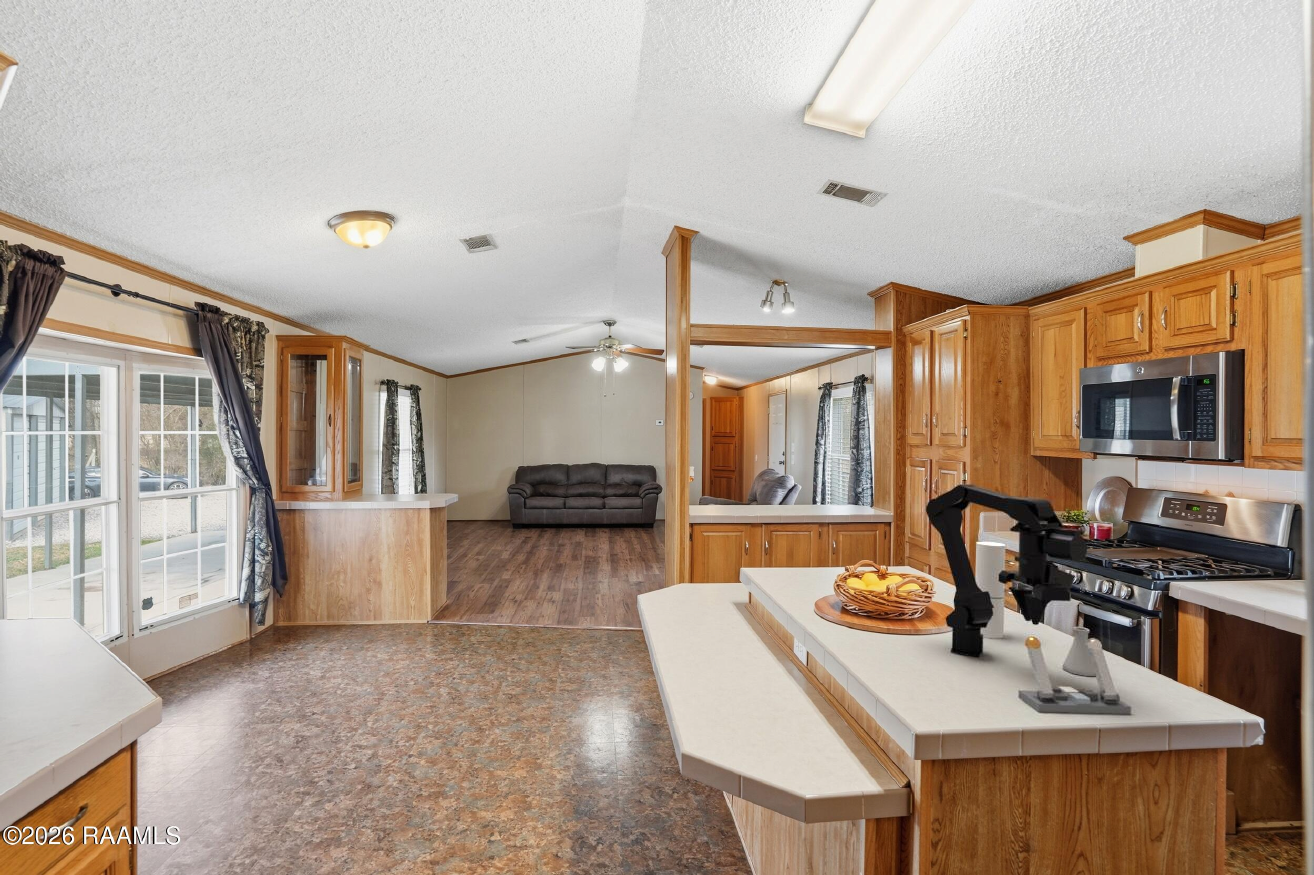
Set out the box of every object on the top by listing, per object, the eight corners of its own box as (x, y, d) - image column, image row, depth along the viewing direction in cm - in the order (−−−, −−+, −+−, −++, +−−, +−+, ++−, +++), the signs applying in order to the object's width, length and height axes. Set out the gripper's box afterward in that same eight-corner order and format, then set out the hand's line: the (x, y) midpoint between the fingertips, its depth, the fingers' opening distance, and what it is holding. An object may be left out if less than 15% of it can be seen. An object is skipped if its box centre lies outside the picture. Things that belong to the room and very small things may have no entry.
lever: (1099, 702, 128) (1080, 639, 134) (1113, 702, 128) (1094, 640, 134) (1108, 700, 125) (1088, 636, 132) (1122, 700, 125) (1102, 637, 132)
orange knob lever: (1036, 700, 128) (1020, 638, 134) (1050, 700, 128) (1034, 638, 134) (1044, 698, 126) (1027, 635, 132) (1058, 698, 126) (1041, 635, 132)
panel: (1018, 697, 132) (1018, 683, 132) (1106, 699, 132) (1106, 685, 132) (1038, 711, 125) (1038, 697, 125) (1130, 714, 125) (1131, 699, 125)
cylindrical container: (1004, 633, 177) (1006, 543, 177) (1002, 640, 171) (1004, 546, 171) (975, 629, 181) (977, 540, 181) (972, 635, 175) (974, 543, 175)
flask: (1105, 678, 144) (1106, 634, 144) (1069, 675, 146) (1070, 631, 146) (1090, 667, 151) (1091, 625, 151) (1056, 664, 153) (1057, 622, 153)
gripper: (1096, 562, 136) (1095, 636, 136) (1044, 547, 154) (1042, 612, 154) (1044, 561, 136) (1042, 635, 136) (997, 546, 154) (996, 611, 154)
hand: (1031, 622), depth 145 cm, fingers open, 3 cm apart
